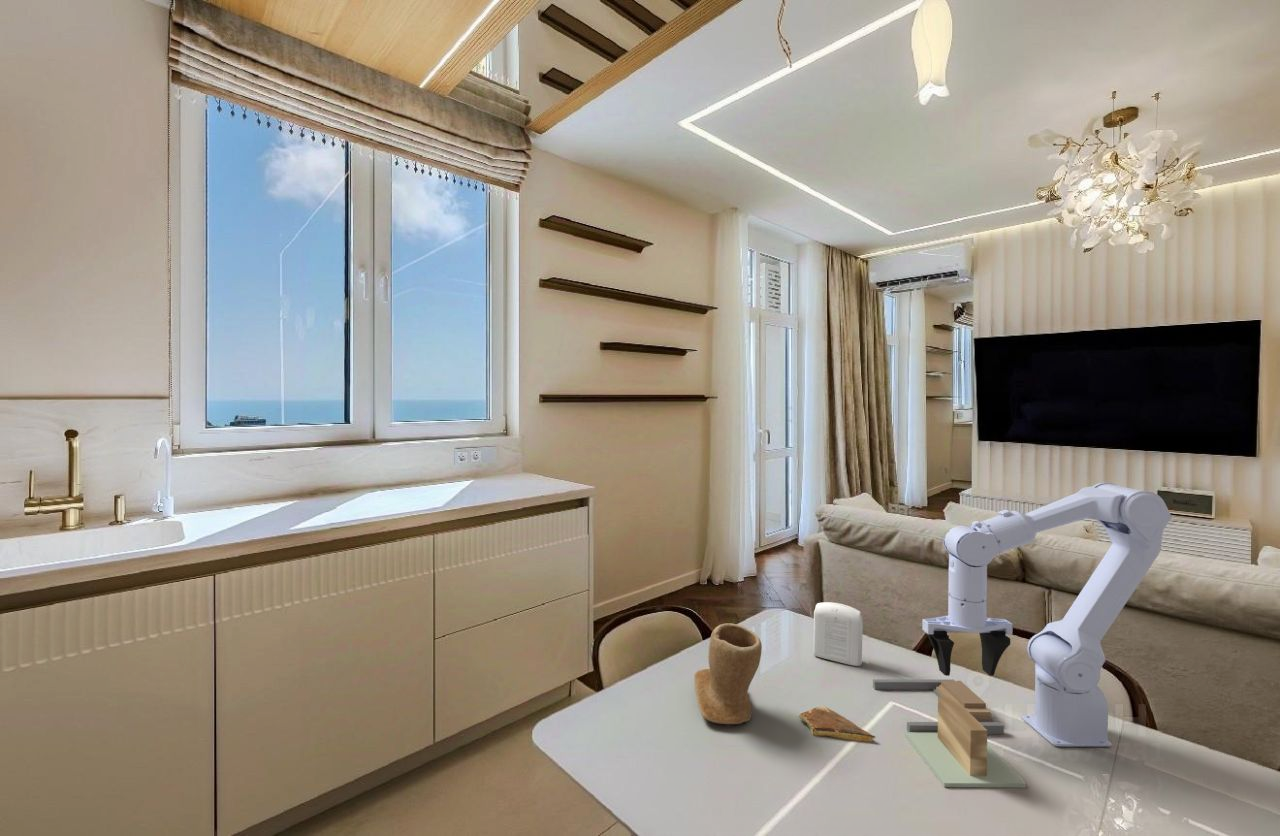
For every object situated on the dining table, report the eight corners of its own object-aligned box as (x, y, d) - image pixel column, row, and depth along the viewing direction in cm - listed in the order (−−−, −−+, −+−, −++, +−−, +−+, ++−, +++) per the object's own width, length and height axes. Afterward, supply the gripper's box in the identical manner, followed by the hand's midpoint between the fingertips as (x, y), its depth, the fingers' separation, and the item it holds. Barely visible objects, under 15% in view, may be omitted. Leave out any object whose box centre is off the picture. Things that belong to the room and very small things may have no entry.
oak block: (952, 737, 89) (953, 696, 89) (986, 775, 80) (987, 730, 80) (937, 737, 89) (938, 696, 89) (970, 775, 80) (970, 730, 80)
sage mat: (976, 735, 90) (976, 732, 90) (1026, 787, 78) (1026, 783, 78) (905, 735, 91) (905, 732, 91) (944, 787, 79) (944, 783, 79)
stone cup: (767, 731, 92) (767, 646, 92) (698, 729, 93) (698, 645, 92) (752, 684, 107) (752, 611, 107) (693, 683, 108) (693, 611, 107)
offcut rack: (953, 686, 106) (953, 672, 106) (1003, 734, 91) (1004, 717, 91) (872, 686, 106) (872, 672, 106) (909, 733, 91) (909, 716, 91)
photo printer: (863, 660, 117) (864, 605, 116) (860, 669, 113) (861, 612, 113) (815, 649, 122) (815, 596, 122) (811, 657, 118) (811, 602, 118)
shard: (875, 745, 89) (875, 734, 89) (844, 760, 85) (844, 749, 85) (824, 712, 98) (824, 703, 98) (794, 725, 95) (794, 715, 95)
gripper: (994, 588, 96) (993, 661, 97) (914, 588, 97) (913, 661, 97) (1021, 603, 89) (1020, 682, 90) (934, 603, 90) (933, 682, 90)
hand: (966, 672), depth 93 cm, fingers open, 7 cm apart
